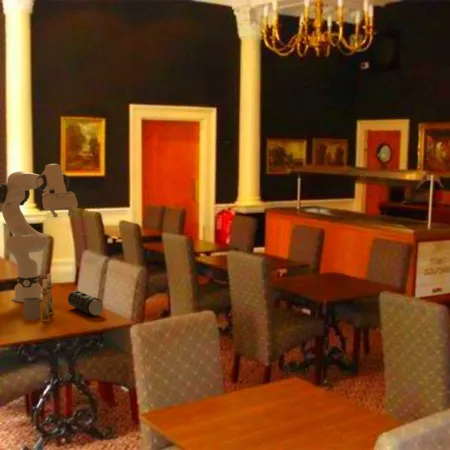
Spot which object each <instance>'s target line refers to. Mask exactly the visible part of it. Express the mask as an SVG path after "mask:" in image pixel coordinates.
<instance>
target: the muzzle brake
mask: <svg viewBox="0 0 450 450" xmlns="http://www.w3.org/2000/svg"><path fill="white" fill-rule="evenodd" d="M67 297H68V298H67V302H68V304H69V305H70V306H71V307H73V308H74V309H76V310H78V311H80V312H82V313H86V314H87V315H88V314H89V315H88V316H90V315H91V316H90V317H93V316H99V315H100V314H101V313H102V312H103V310H104V305H103V301H102V300H101V299H100V298H98V297H95V296H91V295H88V294H86V293H84V292H82V291H79V290H73V291H71V292H70V293H69V295H68V296H67Z"/></svg>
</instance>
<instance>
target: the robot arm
mask: <svg viewBox="0 0 450 450" xmlns="http://www.w3.org/2000/svg"><path fill="white" fill-rule="evenodd" d="M44 167H45V168H44V171H43V172H42V173H41V174H37V173H33V172H29V171H28V172H27V171H15V172H11V173H10V174H9V175H8V177H7V182H5V183H4V182H1V183H0V204H2V207H1V213H2V217H3V219H4V221H5V225H6V226H7V227H8V230H9V231H10V233H11V234H12V235H13V236H9V237H8V238H7V239H6V240H5V248H6V251H7V252H8V253H9V254H10V255H12V256H13V258H14V259H15V261H16V265H17V279H16V281H17V284H16V285H15V286H14V297H12V298H11V301H13V302H18V303H24V299H25V298H32V297H36V298H40V301H42V293H41V291H42V286H41V284H40V282H39V280H40V278H39V275H38V263H37V261H36V260H34V259H33V258H31V256H30V253H39V252H43V251H45V250H46V249H48V245H49V239H48V237H47V236H46V234H44V233H41V232H39V231H38V230H36V229H34V227H32V226H31V225H30V224H29V222H28V221H27V219H26V218H25V216H24V213H23V212H22V210H21V206H24V205H25V203H27V202H28V200H29V198H30V195H31V193H30V190H35V189H38V190H39V191H41V192H43V193H41V197H42V201H41V202H42V207H43V210H44V211H48V210H50V213H51V214H52V215H53V218H57V217H59V215H58V213H56V211H55V210H62V209H63V210H65V209H67V210H68V211H69V212H68V213H67V215H68V217H73V210H74V209H76V208H77V207H78V206H79V203H78V200H77V197H76V194H75V193H74V192H73V191H67V188H68V187H69V185H70V179H69V178H68V176H67V175H66V173H64V172H63V170H62V167H61V165H60V164H58V163H49V164H46V165H45V166H44Z"/></svg>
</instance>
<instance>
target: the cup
mask: <svg viewBox="0 0 450 450" xmlns="http://www.w3.org/2000/svg"><path fill="white" fill-rule="evenodd" d="M40 318H41V300H40V298H36V297H32V298H25V299H24V302H23V320H27V321H28V320H30V321H31V320H32V321H33V320H38V319H40Z"/></svg>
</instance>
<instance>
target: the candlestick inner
mask: <svg viewBox="0 0 450 450" xmlns="http://www.w3.org/2000/svg"><path fill="white" fill-rule="evenodd" d="M46 279H47V290H48V291H50V292H49V293H48V312H49V316H50V315H51V316H52V315H55V312H54V311H53V310H54V309H53V287H54V284H52V273H47V274H46Z"/></svg>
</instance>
